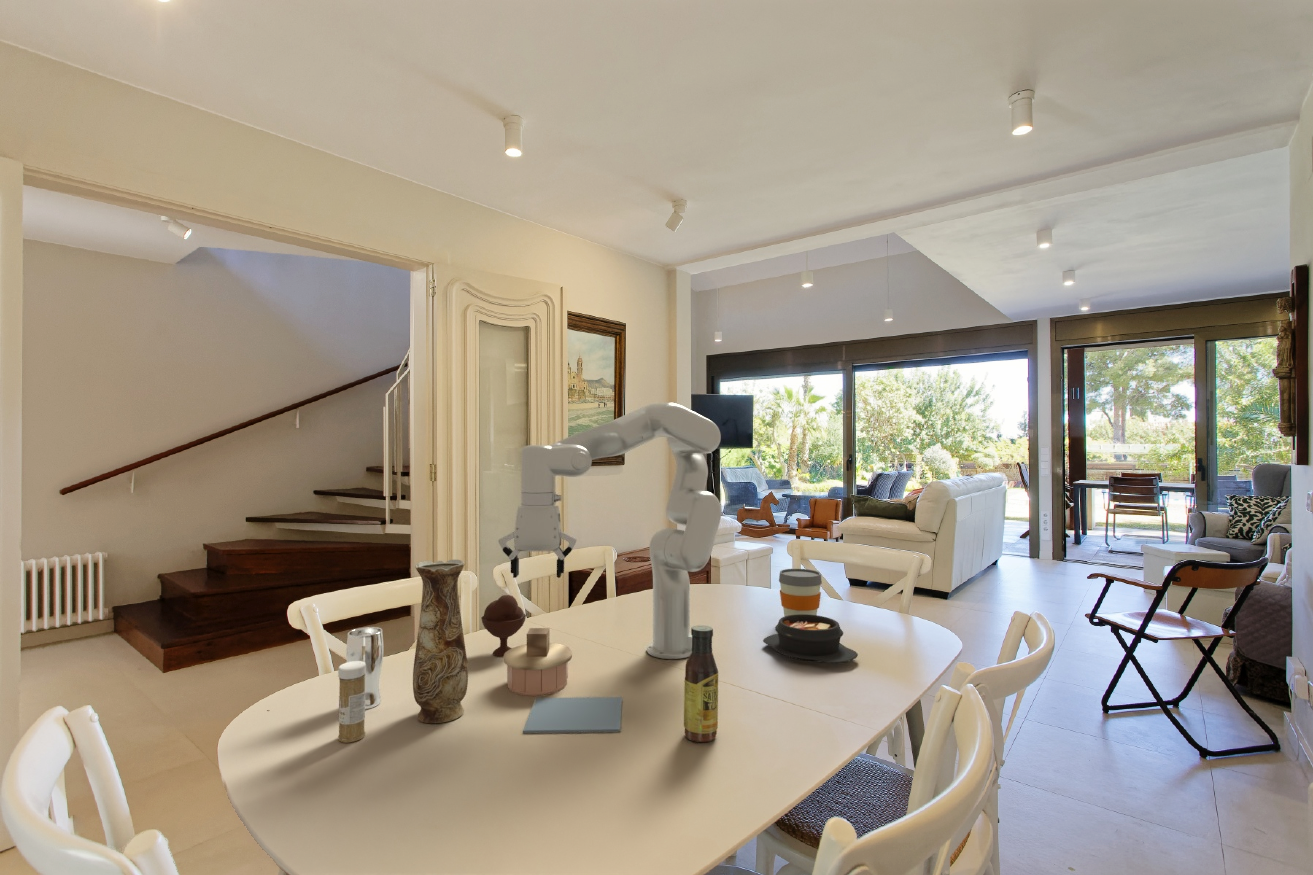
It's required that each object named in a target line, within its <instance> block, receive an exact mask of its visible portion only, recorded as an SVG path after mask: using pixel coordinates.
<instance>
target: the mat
mask: <svg viewBox="0 0 1313 875" xmlns="http://www.w3.org/2000/svg"><path fill="white" fill-rule="evenodd" d="M622 702H623V696H601V697H599V696H597V697H596V696H594V697H593V696H592V697H591V696H589V697H587V696H585V697H582V696H581V697H580V696H579V697H578V696H577V697H575V696H574V697H536V698H535V700H534V702H533V705H532V706H531V707H532V708H531V709H530V712H529V715H528V717H527V720H526V722H525V726H524V727H523V731H522V733H523V734H550V733H551V734H556V733H557V734H559V733H561V734H563V733H567V734H568V733H571V734H572V733H575V734H576V733H621V723H622V722H621V720H622Z"/></svg>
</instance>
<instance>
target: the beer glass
mask: <svg viewBox="0 0 1313 875" xmlns="http://www.w3.org/2000/svg"><path fill="white" fill-rule="evenodd" d="M345 652H346V663H347V662H352V661H362V662H364V663H365V664H366V673H365V711H366V710H370V709H373V708H375V707H377V706H379V705H380V704H381V702H382V698H381V697H382V696H381V692H380V679H381V673H382V666H383V661H384V660H383V659H384V637H383V628H381V627H378V626H365V627H358V628H355V629H352V630H350V631H348V632H347V641H346V651H345Z"/></svg>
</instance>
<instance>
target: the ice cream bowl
mask: <svg viewBox="0 0 1313 875" xmlns="http://www.w3.org/2000/svg"><path fill="white" fill-rule="evenodd" d="M526 616H527V615H526V613H524V611H523V609H522V608H521V607H520V606H519V604H518V601H517V599H516V598H515V597H514V596H513V595H510V594H504V595H503V594H502V595H501V596H500V597H499V598H498V599H495V600H493V601H492V602H490V603H489V604H488V605H487V606H486V608H485V609H484V614H483V615H482V617H481V623H482V625H483V627H484V629H485V630H486V631H487V632H489V634H491V636H493V637H496V638H498V639H499V642H500V643H499V647H497V648H495V649H494V650H493V651H492V655H493V656H494V657H503V658H504V654H505V652H507V651H508V650H510V649H512V648H513V647H510V646H508V639H509V637H510V638H511V637H512V636H513V635H515V634H516V633H518V631H519V630H521V628H522V627H523V626H524V623H525V621H526Z"/></svg>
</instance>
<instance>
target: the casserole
mask: <svg viewBox="0 0 1313 875" xmlns="http://www.w3.org/2000/svg"><path fill="white" fill-rule="evenodd" d="M774 630H775V632H776V633H774V634H771V635H768V636H766V637H764V638H763V640H762V642H763V643H764V644H766V645H767V646H769V647H771V648H772V649H774V651H776V652H777V653H779V654H781V655H784V656H786V657H790V658H792V659H795V660H799V661H804V662H819V663H826V664H831V665H832V664H833V665H834V664H835V665H836V664H842V663H847V662H851V661H853V660H855V659H857V657H858V656H859V654H858V652H856V651H855V650H853V649H852V648H850V647H846V646H845V645H844V644H842V643H840V642H841V638H842V637H843V636H844V630H843V629H841V626H840V623H839V622H838V621H837V620H835V619H833V618H830V617H826V616H821V615H807V614H798V615H789V616H785V617H784V616H782V617H780V618H779V619H778V623H777V625H776V626H775V627H774Z"/></svg>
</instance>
